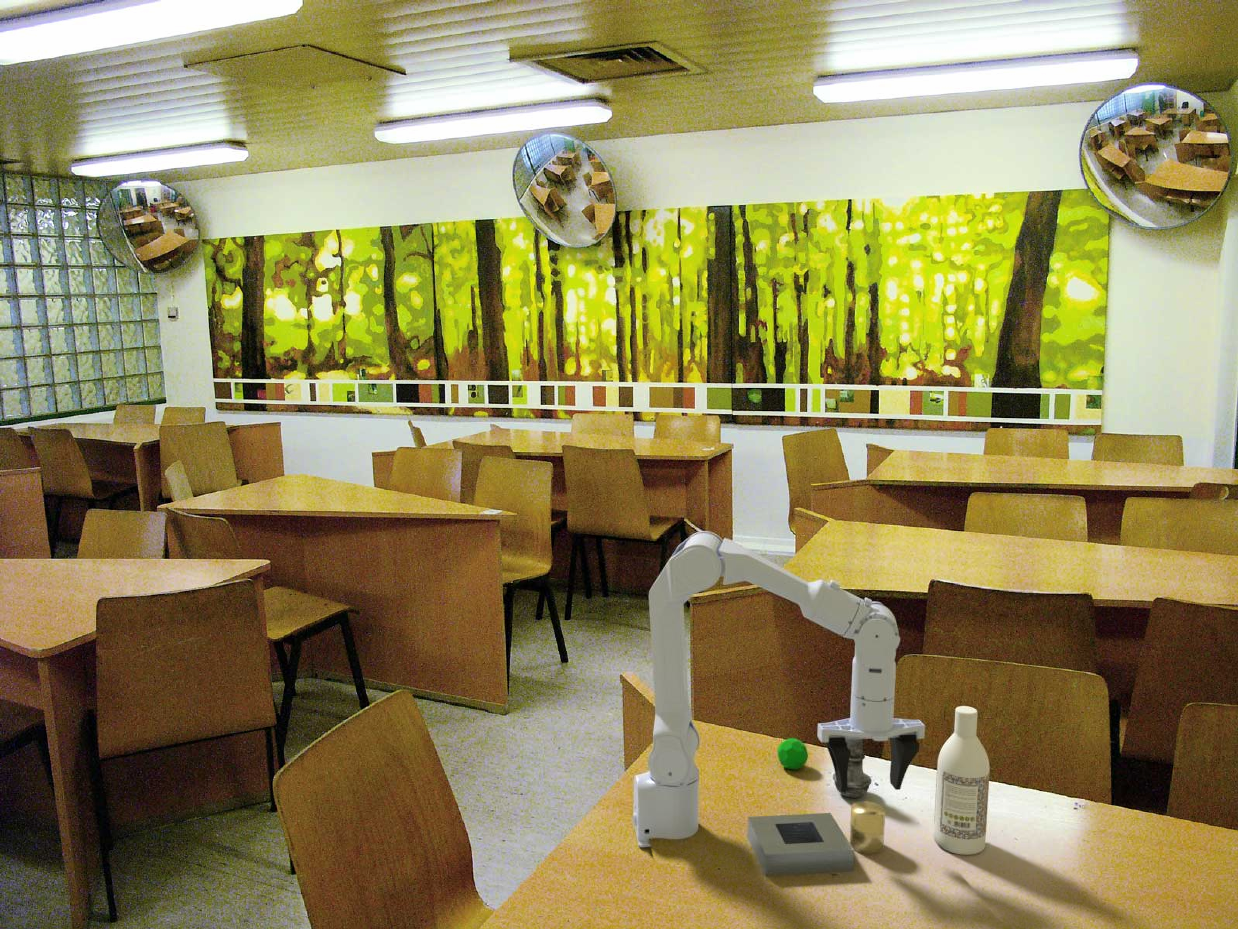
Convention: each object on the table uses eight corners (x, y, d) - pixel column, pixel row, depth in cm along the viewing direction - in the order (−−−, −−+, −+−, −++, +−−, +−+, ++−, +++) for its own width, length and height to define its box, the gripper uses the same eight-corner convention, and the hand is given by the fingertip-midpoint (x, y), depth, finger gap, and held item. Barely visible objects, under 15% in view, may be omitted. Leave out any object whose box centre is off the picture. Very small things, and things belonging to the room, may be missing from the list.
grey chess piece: (861, 813, 149) (864, 737, 147) (825, 801, 152) (827, 728, 151) (876, 798, 154) (879, 725, 152) (841, 787, 157) (844, 716, 155)
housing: (764, 883, 130) (765, 854, 130) (747, 843, 140) (747, 817, 140) (852, 878, 132) (853, 850, 131) (829, 839, 141) (830, 813, 141)
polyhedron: (800, 777, 161) (800, 749, 160) (772, 769, 163) (773, 742, 163) (811, 765, 165) (812, 738, 164) (784, 758, 168) (785, 731, 167)
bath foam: (993, 856, 137) (1001, 719, 134) (943, 857, 137) (951, 720, 134) (973, 830, 144) (981, 699, 141) (926, 831, 144) (933, 700, 141)
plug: (855, 862, 135) (857, 818, 134) (844, 845, 140) (846, 802, 139) (888, 861, 136) (890, 816, 135) (876, 843, 140) (878, 800, 139)
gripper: (830, 707, 130) (826, 803, 132) (936, 703, 131) (930, 799, 133) (814, 687, 137) (811, 779, 139) (915, 683, 138) (910, 775, 140)
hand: (868, 787), depth 137 cm, fingers open, 7 cm apart
